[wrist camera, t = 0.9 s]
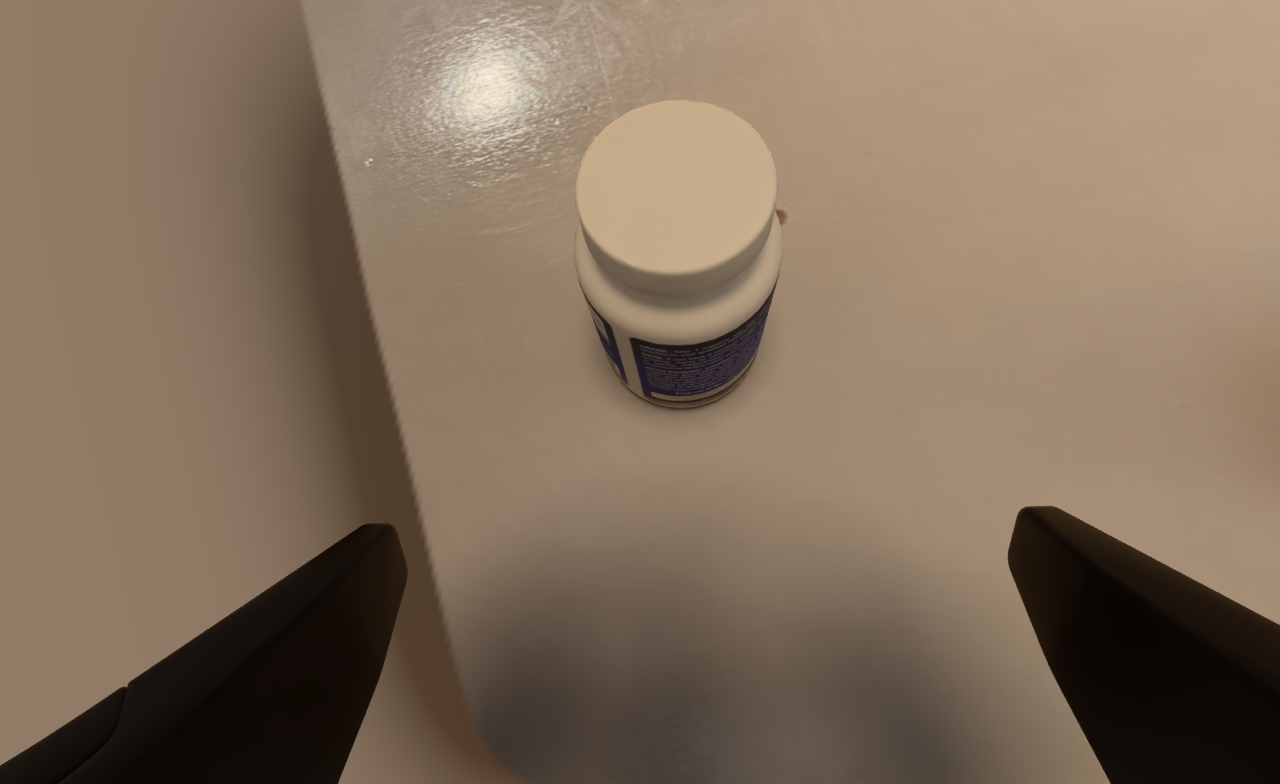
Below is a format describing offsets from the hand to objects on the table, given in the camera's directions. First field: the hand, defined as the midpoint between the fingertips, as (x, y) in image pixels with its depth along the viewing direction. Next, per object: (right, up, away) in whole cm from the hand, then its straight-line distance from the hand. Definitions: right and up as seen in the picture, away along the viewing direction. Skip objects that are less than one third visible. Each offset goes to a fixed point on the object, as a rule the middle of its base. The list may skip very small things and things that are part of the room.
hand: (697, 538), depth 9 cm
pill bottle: (+1, +4, +15) cm, 16 cm away
